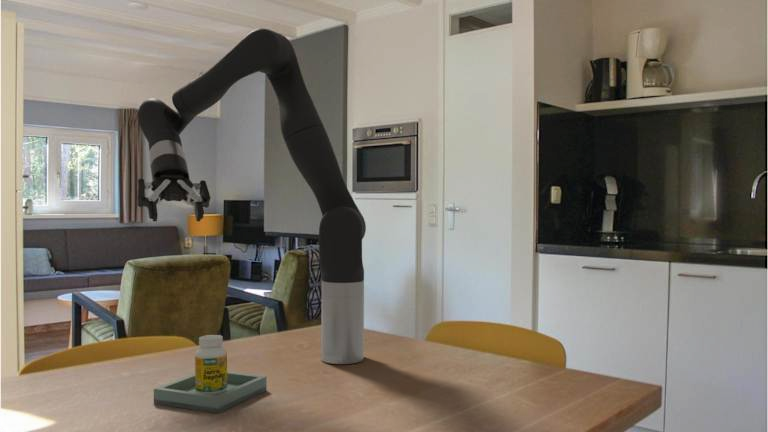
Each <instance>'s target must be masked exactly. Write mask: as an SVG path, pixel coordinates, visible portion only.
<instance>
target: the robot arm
mask: <svg viewBox="0 0 768 432" xmlns="http://www.w3.org/2000/svg"><path fill="white" fill-rule="evenodd" d="M219 59H220V60H218V61H217V62H215V64H213V65H212V66H211V67H209V68H208V69H207V70H205V71H204V72H203V73H201V74H200V75H199V76H197V77H196V78H193V79H192V80H191V81H189V82H187V83H186V84H184V85H182V87H180V88H178V89H177V90H175V91H174V93H173V94H172V96H171V102H172V104H173V106H174V108H175V110H174V109H173V108H172V107H171V106H169V105H167V104H166V103H165V102H164V101H162V100H161V99H159V98H153V97H151V98H148V99H146V100H144V101H143V102H142V103H141V104H140V106H139V107H138V110H137V121H138V125H139V127H140V129H141V131H142V133H143V135H144V137H145V139H146V140H147V143H148V150H149V167H150V172H151V180H152V181H149V182H148V181H145V179H144V178H138V180H137V187H136V190H137V191H136V193H137V195H136V196H137V206H138V207H139V208H143V207H145V208H146V209H147V212H148V218H149V219H150V220H152V222H158V207H157V205H159V206H160V204H161V203H162V202H163V201H165V202H173V201H175V202H182V201H183V203H185V204H186V205H188V206H191V207H193V210H194V215H195V220H196V222H201V220H203V219H204V215H205V209H206V208H209V207H210V201H211V195H210V192H209V188H208V185H207V182H206V180H203V179H202V180H200V182H198V183H194V182H192V180H191V179H190V174H189V169H188V165H187V164H188V163H187V158H186V155H185V152H184V149H183V144H182V139H181V136H180V134H181V133H182V132H183V131H184V130H185V129H186V127H187V126H188V125H189V124H190V123H191V122H192V121H193V120H194V119H195V118H196V117H197V116H198V115H200V114H201V113H203V112H204V111H206V110H208V109H210V108H211V107H213V106H214V105H216V103H218V102H219V101H220V100H221V99H223V97H224V96H225V95H226V93H227V92H228V91H229V89H230V88H231V87H233V85H234V84H236V83H238V82H239V81H241V80H242V79H243V78H247V77H248V76H250V75H253V74H255V73H258V72H260V73H264V74H265V75H266V77H267V78H268V80H269V82H270V84H271V87H272V88H273V91H274V93H275V95H276V97H277V102H278V106H279V108H278V109H279V123H280V125H279V126H280V131H281V134H282V135H281V136H282V138H283V141H284V142H285V145H286V148H287V150H288V152H289V155H290V157H291V160H292V161H293V163H294V165H295V167H296V168H297V170H298V171H299V173H300V174H301V175H302V177H303V179H304V180H305V182H306V183H307V185H308V186H309V188H310V189H311V191H312V193H313V195H314V196H315V199H316V201H317V204H318V206H319V209H320V212H321V215H322V216H321V219H320V222H319V227H318V252H319V253H318V255H319V256H318V257H319V258H318V259H319V262H318V263H319V268H320V274H321V331H320V332H321V334H320V335H321V339H320V340H321V343H320V346H321V347H320V349H321V350H320V351H321V352H320V353H321V354H320V357H321V358H320V359H321V361H322V362H323V363H326V364H327V363H328V364H333V365H351V364H356V363H361V362H363V361H364V359H365V358H364V356H365V353H364V351H365V350H364V349H365V344H364V343H365V268H364V262H363V239H364V238H365V235H366V232H367V231H366V229H367V225H366V221H365V217H364V216H363V214H362V213H361V211H360V209H359V207H358V206H357V204H356V203H355V201H354V199H353V197H352V195H351V192H350V190H349V189H348V187H347V185H346V183H345V180H344V177H343V174H342V172H341V171H342V170H341V168H340V166H339V162H338V159H337V156H336V154H335V151H334V148H333V145H332V142H331V140H330V138H329V136H328V135H329V134H328V133H327V130H326V129H325V126H324V124H323V121H322V119H321V118H320V115H319V113H318V111H317V109H316V106H315V104H314V102H313V98H312V97H311V95H310V92H309V90H308V89H307V86H306V83H305V80H304V78H303V75H302V71H301V68H300V64H299V61H298V58H297V55H296V52H295V49H294V47H293V44H292V43H291V41H290V40H289V39H288V38H287V37H286V36H285V35H283V34H281V33H278V32H277V31H274V30H271V29H269V28H256V29H254V30H252V31H251V32H249V33H247V34H246V36H244V37H243V38H242V39H241V40H240V41H239V42H238V43H237V44H236V45H235V46H234V47H232V49H230V50H229V51H228V52H227V53H226V54H225V55H224V56H223V57H222V58H219ZM149 190H152V191H153V193H152V194H151V195H150V196H149V197H147V196H146V193H147V192H148V191H149ZM152 191H151V192H152ZM196 193H197V194H196ZM204 208H205V209H204Z"/></svg>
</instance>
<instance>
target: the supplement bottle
mask: <svg viewBox="0 0 768 432" xmlns="http://www.w3.org/2000/svg"><path fill="white" fill-rule="evenodd" d="M223 343H224V338H223V335H220V334H209V335H207V334H205V335H202V336H200V337H198V345H199V347H200V348H198V349H197V350H196V351H195V354H194V362H195V363H194V368H195V369H194V370H195V371H194V374H195V391H196V393H203V394H210V395H219V394H221V393H223V392H225V391H226V390H227V372H228V352H227V349H226V348H225V347H223Z"/></svg>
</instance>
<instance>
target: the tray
mask: <svg viewBox="0 0 768 432" xmlns="http://www.w3.org/2000/svg"><path fill="white" fill-rule="evenodd" d="M267 377H268V376H266V375H259V374H258V375H257V374H251V373H250V374H249V373H240V372H235V371H234V372H233V371H227V390H226V391H225V392H223V393H221V394H219V395H210V394H203V393H196V391H195V373H194V374H190V375H187V376H185V377H182V378H180V379H179V378H178V379H175V380H174V381H171V382H168V383H166V384H163V385H160V386H158V387H155V388H153V405H160V406H166V407H167V406H168V407H174V408H180V409H187V410H192V411H197V412H198V411H199V412H206V413H210V414H211V413H213V414H220V413H223V412H224V411H226V410H228V409H230V408H232V407H235V406H237V405H238V404H241V403H243V402H245V401H247V400H249V399H251V398H253V397H256V396H257V395H259V394H262V393H264V392H266V391H267Z"/></svg>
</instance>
